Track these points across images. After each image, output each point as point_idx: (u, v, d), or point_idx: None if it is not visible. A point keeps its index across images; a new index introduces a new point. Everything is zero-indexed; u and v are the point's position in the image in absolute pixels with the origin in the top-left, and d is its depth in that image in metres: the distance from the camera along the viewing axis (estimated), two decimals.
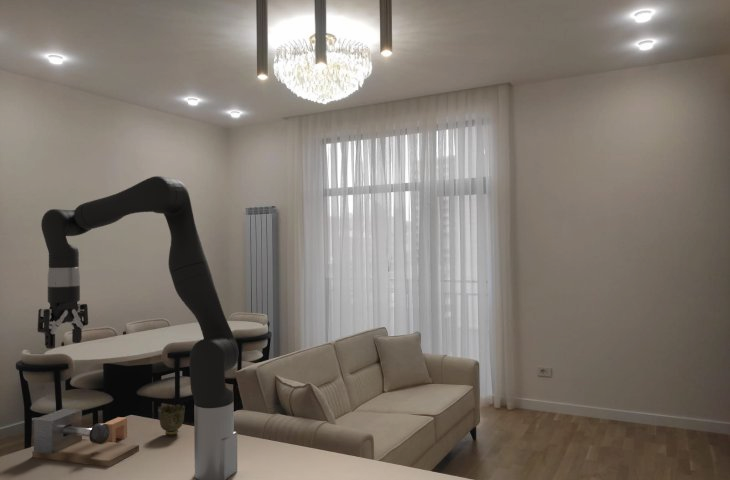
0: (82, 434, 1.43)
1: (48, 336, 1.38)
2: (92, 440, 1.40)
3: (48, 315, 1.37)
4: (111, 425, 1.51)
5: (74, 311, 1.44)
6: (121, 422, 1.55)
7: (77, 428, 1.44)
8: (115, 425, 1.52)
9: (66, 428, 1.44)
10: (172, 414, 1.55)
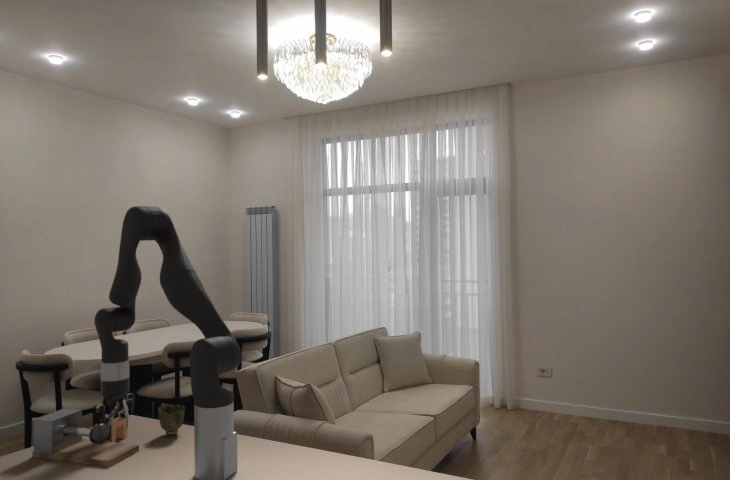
0: (82, 434, 1.43)
1: None
2: (92, 440, 1.40)
3: (103, 411, 1.48)
4: (111, 425, 1.51)
5: (124, 401, 1.55)
6: (121, 422, 1.54)
7: (77, 428, 1.44)
8: (115, 425, 1.52)
9: (66, 428, 1.44)
10: (172, 414, 1.55)
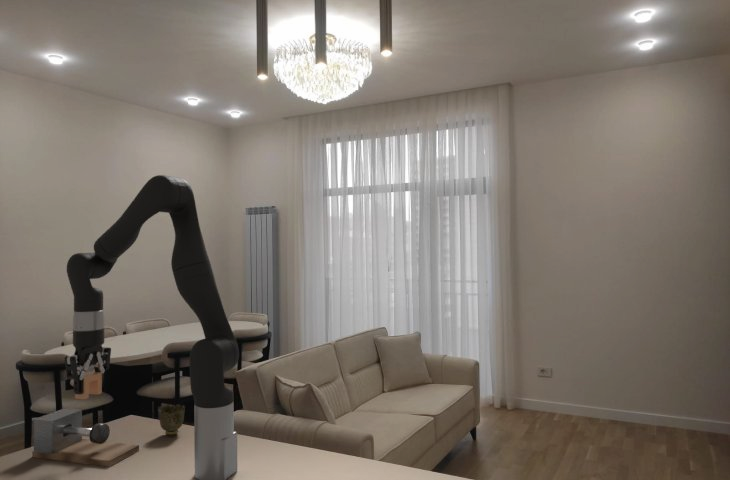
0: (82, 434, 1.43)
1: (77, 382, 1.39)
2: (92, 440, 1.40)
3: (75, 362, 1.38)
4: (83, 378, 1.40)
5: (99, 354, 1.44)
6: (95, 376, 1.44)
7: (77, 428, 1.44)
8: (89, 379, 1.42)
9: (66, 428, 1.44)
10: (172, 414, 1.55)
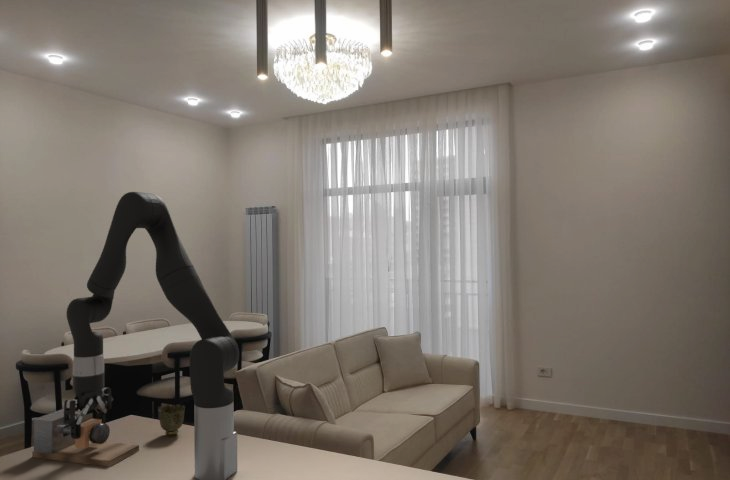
0: None
1: (74, 427, 1.38)
2: (92, 440, 1.40)
3: (74, 406, 1.37)
4: (83, 428, 1.40)
5: (99, 398, 1.44)
6: None
7: None
8: (89, 427, 1.41)
9: (66, 428, 1.44)
10: (172, 414, 1.55)
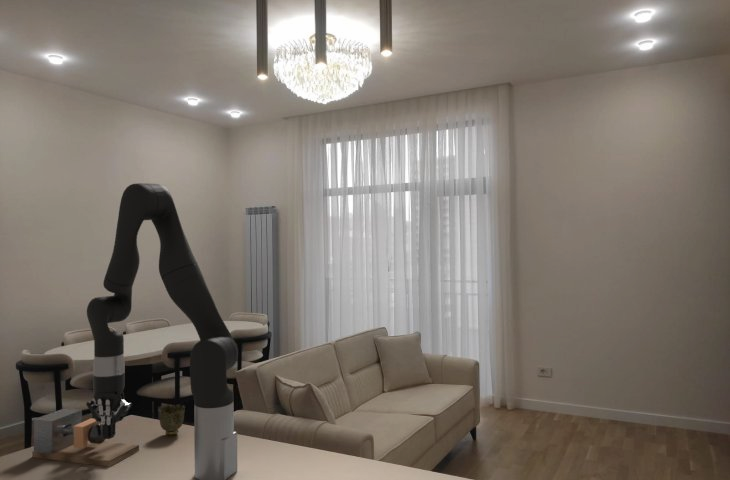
0: None
1: None
2: (90, 440, 1.40)
3: (90, 407, 1.42)
4: (82, 428, 1.40)
5: (108, 402, 1.39)
6: None
7: None
8: (87, 427, 1.42)
9: (64, 428, 1.45)
10: (172, 414, 1.55)
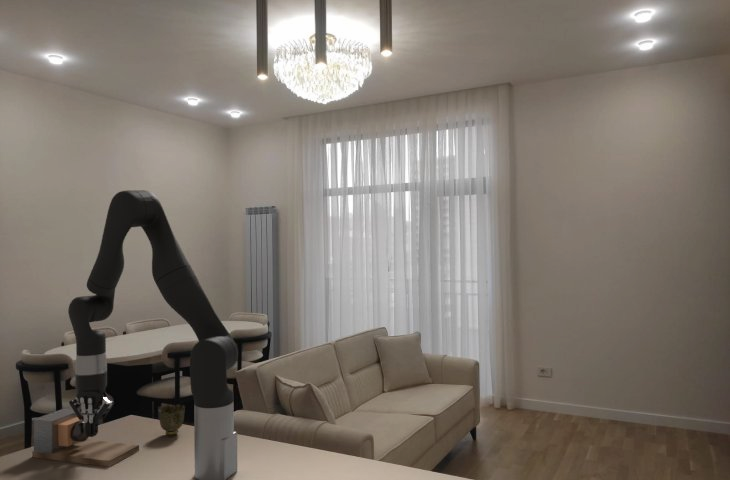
0: None
1: None
2: (73, 438, 1.42)
3: (73, 405, 1.43)
4: (66, 426, 1.42)
5: (90, 401, 1.41)
6: None
7: None
8: (71, 426, 1.43)
9: None
10: (172, 414, 1.55)
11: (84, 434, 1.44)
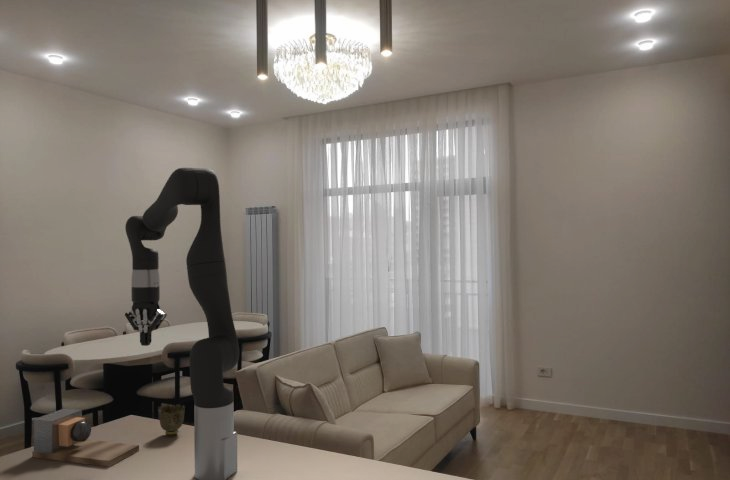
0: None
1: None
2: (73, 438, 1.42)
3: (128, 317, 1.55)
4: (66, 426, 1.42)
5: (145, 311, 1.53)
6: None
7: None
8: (72, 426, 1.43)
9: None
10: (172, 414, 1.55)
11: (84, 434, 1.44)
